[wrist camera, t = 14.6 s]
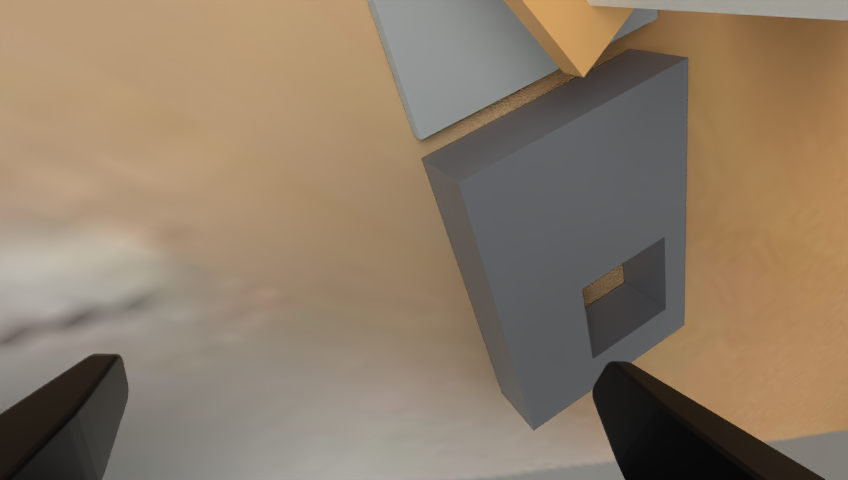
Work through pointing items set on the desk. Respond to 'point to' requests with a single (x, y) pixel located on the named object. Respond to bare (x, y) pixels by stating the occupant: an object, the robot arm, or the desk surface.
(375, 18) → the mat
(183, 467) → the desk surface
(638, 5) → the white and tan block
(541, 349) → the gray slab with hole
